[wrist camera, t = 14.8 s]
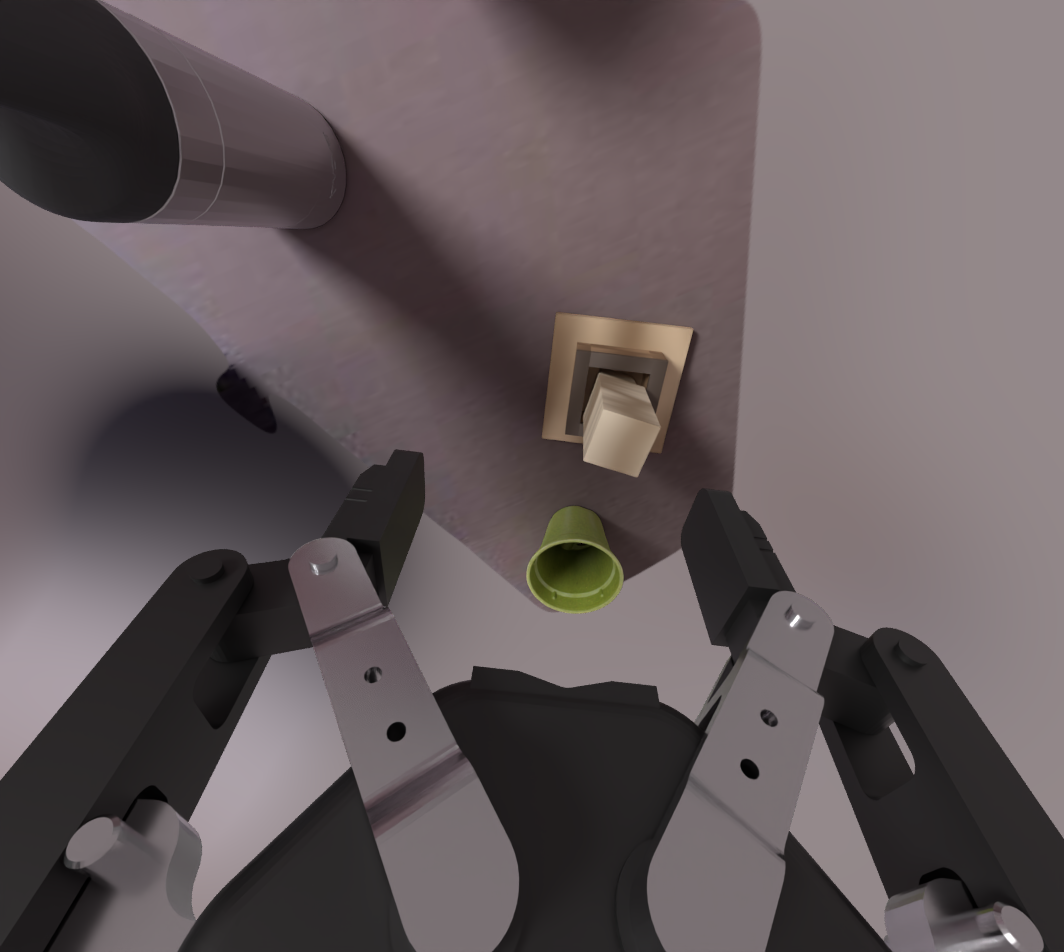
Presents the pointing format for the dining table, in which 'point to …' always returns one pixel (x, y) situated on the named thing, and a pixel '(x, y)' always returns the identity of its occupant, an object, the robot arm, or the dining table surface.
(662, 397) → the board
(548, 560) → the plant pot
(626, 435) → the leg peg
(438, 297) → the dining table surface
